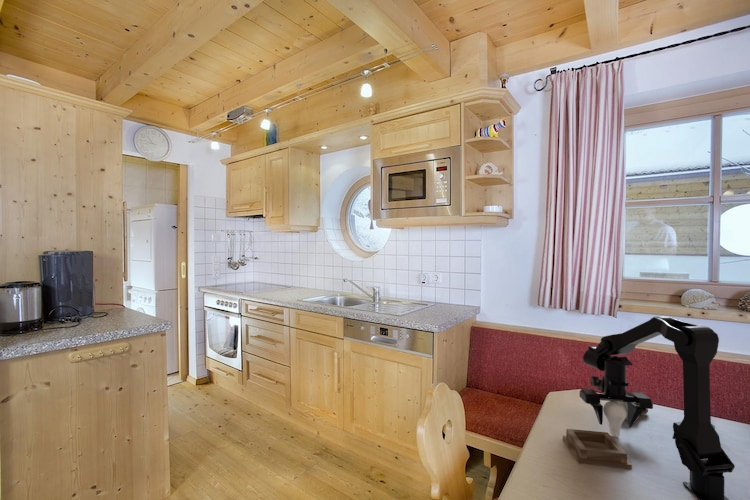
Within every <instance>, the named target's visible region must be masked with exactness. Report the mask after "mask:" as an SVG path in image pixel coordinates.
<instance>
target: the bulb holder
mask: <svg viewBox="0 0 750 500" xmlns="http://www.w3.org/2000/svg"><path fill="white" fill-rule="evenodd" d="M565 431H566V432H565V433H566V435H562V439H563V441H564V442H565V444H566V445H567V447H568V448H569V449H568V450H570V452H571V453H572V455H573V456H574V458H575V459H576V461H577V462H578V464H582V465H583V464H584V465H590V466H591V465H593V466H601V467H611V468H619V469H629V470H632V469H633V465H632V464H631V463H630V461H629V460H628V453H627V452H626V451H625V450H624V449H623V447H621V445H620V444H619V443H618V442H617V441H616V440H615V439H614V438H613V436H612V435H611V434H610V433H609V432H605V431H594V430H585V429H574V428H566V430H565Z"/></svg>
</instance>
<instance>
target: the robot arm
mask: <svg viewBox="0 0 750 500" xmlns="http://www.w3.org/2000/svg"><path fill="white" fill-rule="evenodd" d="M660 335H661V336H663V338H664V339H666V340H668V341H670V342H672V343H673V345H674V350H675V352H676V353H677V354H678V356H679V357H680V359H681V361H682V386H683V387H682V389H683V390H682V392H683V395H682V396H683V397H682V398H683V419H682V420H681V421H678V422H673V423H672V429H673V436H672V439H673V440H674V444H675V447H676V449H677V450H678V455H679V458H680V461H681V464H682V465H683V466H685V467H686V468H687V469H688V471H689V481H682V485H684V487H686V488H687V490H689V491H690V493H692V494H693V495H694V496H695V497H696V498H697V499H698V500H730V499H729V498H728V497H727V496H726V495H725V476H724V474H725V473H730V474H731V473H733V471H734V469H735V467H736V465H735V464H734V462H733V461H732V460H731V458H730V457H729V455H728V454H727V453H726V452H725V450H724V449H723V448H722V445H721V440H720V434H719V433H718V432H717V430H716V428H715V429H714V428H713V426H712V425H711V424H712V419H711V418H712V417H711V413H712V412H711V383H710V382H711V380H710V379H711V378H710V377H711V375H710V366H711V363H712V361H713V360H714V358H715V356H716V355H717V353H718V348H719V343H720V337H719V335H718V333H716V331H714V330H713V329H712V328H710V327H709V326H706V325H705V326H704V325H697V324H694V323H691V322H690V323H689V322H687V321H684V320H679V319H676V318H674V317H671V316H668V315H664V316H663V315H660V316H653V317H651V318H650V319H648V320H647V321H645V322H642V323H640V324H639V325H637V326H634V327H633V328H630V329H628V330H626V331H624V332H622V333H615V334H610V335H605V336H602V337H601V339H600V342H599V343H598V345H596V346H595V345H590V346H588V349H587V350H586V351H585V352H584V354H583V356H582V358H583V359H582V360H583V362H584V363H585V365H586V366H590V367H592V368H593V369H596V370H599V371H601V372H603V373H604V374H603V375H602V377H601V379H600V378H599V376H594V375H593V376H592V375H591V376H590V386H591V387H595V388H596V390H598V391H600V392H602V393H598V392H596V391H595V390H594V389H592V388H591V389H590V388H581V389H580V390H579V397H580V398H581V399H582V401H583V402H584V403H585V404H588V405H590V406H591V407H592V408H593V410H594V413H595V415H596V418H597V421H598V423H599V425H601V426H602V425H603V420H604V419H603V418H604V411H603V407H604V405H602V404H601V401H604V402H605V401H606V402H609V401H618V402H627V405H628V420H627V421H626V422H627V427H628V428H632V427H633V425H634V423H635V422H636V421H637V420H638V419H639V418H638V416H639V417H640V416H641V415H640V414H641V413H642V412H643V411H646V409H648V410H649V409H650V410H653V409H654V402H653V400H652V398H650V397H649V396H647V395H646V394H644V393H643V392H629V393H630V394H629V396H627V395H626V393H627V387H629V383H628V382H627V367H630V366H633V363H632V361H631V360H629V358H628V357H627V356H620V355H628V354H630V353H631V352H633V351H634V350H635V349H636V346H638V345H640V344H642V343H644V342H647V341H649V340H651V339H654V338H656V337H658V336H660ZM617 355H619V356H617ZM637 418H638V419H637ZM636 419H637V420H636Z"/></svg>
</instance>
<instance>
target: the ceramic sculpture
mask: <svg viewBox="0 0 750 500" xmlns="http://www.w3.org/2000/svg"><path fill="white" fill-rule="evenodd" d="M629 394H630V392H627V391H626V395H627V396H629ZM616 402H618V401H616ZM619 403H620V404H622V405H623V406H624V408H625V409H626V412H627V416H626V418H625V420H624V422H627V420H628V405H627V402H619ZM648 413H649V409H646V411H643V412H642V413H641V414H640V415H639V416H638V418H637V419H636V421H637V420H638V419H639V417H640V416H642V415H647V414H648Z"/></svg>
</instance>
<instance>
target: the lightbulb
mask: <svg viewBox="0 0 750 500" xmlns="http://www.w3.org/2000/svg"><path fill="white" fill-rule="evenodd" d="M603 415H604V416H605V417H606V419H607V421H608V427H609V435H610V436H612V437H614V438H617V437H620V435H621V434H620V433H621V429H622V424H623V423H624V422H625V418H626V416H627V412H626V409H625V408H624V406H623V405H622V404H620V403H619V402H616V401H606V403H604V405H603Z"/></svg>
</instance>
